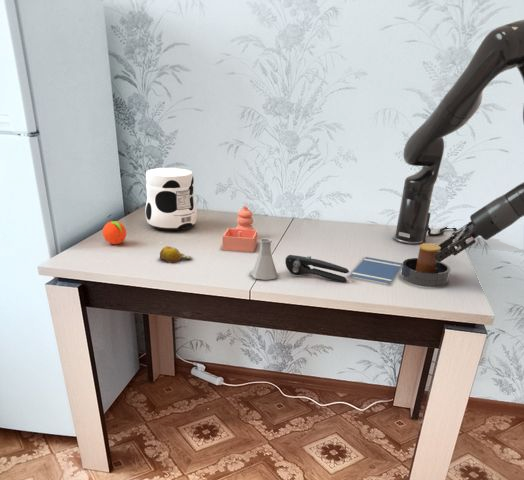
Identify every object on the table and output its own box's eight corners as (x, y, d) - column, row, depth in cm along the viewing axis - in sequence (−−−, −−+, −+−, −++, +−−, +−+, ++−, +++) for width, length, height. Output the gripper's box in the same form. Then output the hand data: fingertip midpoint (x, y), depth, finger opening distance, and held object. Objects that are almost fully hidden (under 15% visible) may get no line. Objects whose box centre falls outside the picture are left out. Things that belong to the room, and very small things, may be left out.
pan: (426, 269, 146) (429, 256, 144) (456, 285, 136) (459, 271, 134) (391, 274, 142) (393, 260, 140) (419, 290, 132) (422, 276, 130)
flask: (250, 270, 139) (251, 235, 134) (276, 270, 140) (277, 235, 135) (251, 280, 133) (252, 243, 128) (278, 280, 134) (281, 244, 129)
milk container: (155, 218, 182) (152, 165, 173) (202, 221, 180) (201, 169, 171) (139, 231, 167) (134, 175, 158) (189, 235, 165) (188, 178, 156)
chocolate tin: (425, 273, 142) (431, 242, 137) (437, 280, 138) (445, 248, 133) (409, 275, 140) (415, 244, 135) (422, 282, 136) (428, 250, 131)
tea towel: (366, 258, 153) (366, 256, 152) (402, 264, 149) (402, 263, 148) (349, 277, 138) (349, 275, 138) (389, 284, 134) (389, 283, 134)
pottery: (253, 252, 153) (254, 220, 148) (222, 249, 154) (222, 217, 149) (260, 235, 169) (261, 205, 164) (232, 233, 169) (232, 203, 165)
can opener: (280, 276, 137) (281, 256, 134) (288, 267, 143) (289, 248, 140) (344, 287, 132) (347, 266, 129) (350, 278, 137) (352, 258, 135)
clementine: (133, 245, 154) (131, 222, 151) (113, 249, 150) (110, 226, 146) (119, 238, 159) (117, 216, 156) (99, 243, 155) (96, 220, 151)
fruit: (193, 259, 146) (193, 246, 144) (171, 265, 140) (170, 253, 138) (175, 252, 150) (174, 240, 149) (153, 258, 145) (152, 246, 143)
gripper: (486, 199, 131) (432, 236, 140) (486, 211, 119) (427, 250, 128) (502, 222, 132) (447, 257, 141) (504, 236, 120) (444, 273, 129)
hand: (437, 254), depth 134 cm, fingers open, 8 cm apart
